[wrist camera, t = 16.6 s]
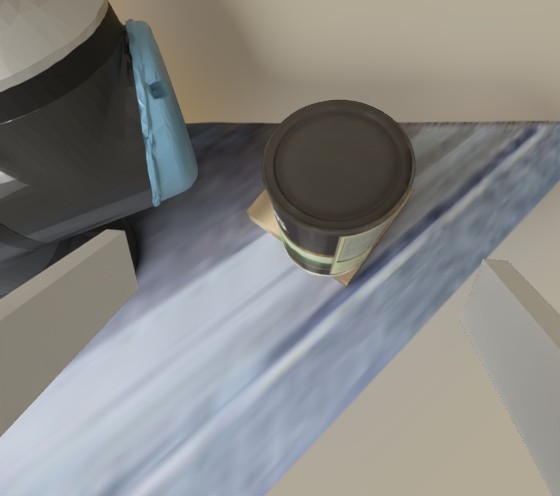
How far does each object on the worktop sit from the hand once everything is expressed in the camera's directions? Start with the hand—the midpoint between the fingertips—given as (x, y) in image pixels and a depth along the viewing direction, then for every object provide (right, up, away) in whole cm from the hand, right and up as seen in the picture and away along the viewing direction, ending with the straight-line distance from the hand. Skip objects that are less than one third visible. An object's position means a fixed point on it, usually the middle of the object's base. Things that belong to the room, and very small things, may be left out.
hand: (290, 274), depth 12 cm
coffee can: (+5, +3, +23) cm, 24 cm away
